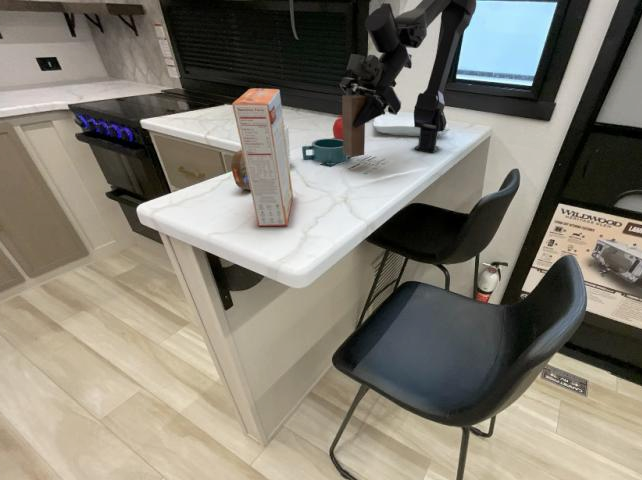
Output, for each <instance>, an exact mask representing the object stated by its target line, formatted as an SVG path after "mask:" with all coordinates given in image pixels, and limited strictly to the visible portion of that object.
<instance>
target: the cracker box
mask: <svg viewBox="0 0 642 480" xmlns="http://www.w3.org/2000/svg"><path fill="white" fill-rule="evenodd" d="M231 105H232V111H233V114H234V117H235V123H236V128H237V133H238V137H239V141H240V146H241V149H242V152H243V156H244V161H245V166H246V171H247V175H248V180H249V185H250V189H251V190H250V193H251V198H252V203H253V209H254V212H255V217H256V222H257V226H258V227H281V226H283V227H285V226H288V223H289V219H290V214H291V209H292V205H293V199H294V193H293V185H292V184H293V183H292V177H291V176H292V175H291V168H290V166H289V160H288V153H287V145H286V137H285V129H284V125H285V121H284V115H283V107H282V105H283V104H282V99H281V91H280V89H279V88H277V89H276V88H260V87H258V88H255V87H254V88H249V89H247V91H245V92H244V93H243V94H241V96H240V97H238V98H237V99H235V101H233V102H232V103H231Z"/></svg>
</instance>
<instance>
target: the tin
mask: <svg viewBox="0 0 642 480" xmlns="http://www.w3.org/2000/svg"><path fill="white" fill-rule="evenodd" d="M230 169H231V172H232V177H233V180H234V182H235V185H236V186H237V187H238V188H239V189H240V190H247V191H248V190H249V191H251V189H250V185H249V180H248V175H247V171H246V166H245V161H244V156H243V152H242V148H241V149H240V150H237V151H236V152H235V153H234V154H233V156H232V158H231V163H230Z"/></svg>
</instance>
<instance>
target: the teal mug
mask: <svg viewBox="0 0 642 480" xmlns="http://www.w3.org/2000/svg"><path fill="white" fill-rule="evenodd" d="M301 151H302V152H301V153H302V159H303V160H314V161H315V162H318V163H321V164H341V163H344V162H346V161H348V160H349V156H348V155H346V154H344V153H343V140H340V139H335V138H318V139H316V140H313V141H312V142H311V145H303V146H301ZM307 151H311V154H307Z"/></svg>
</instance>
